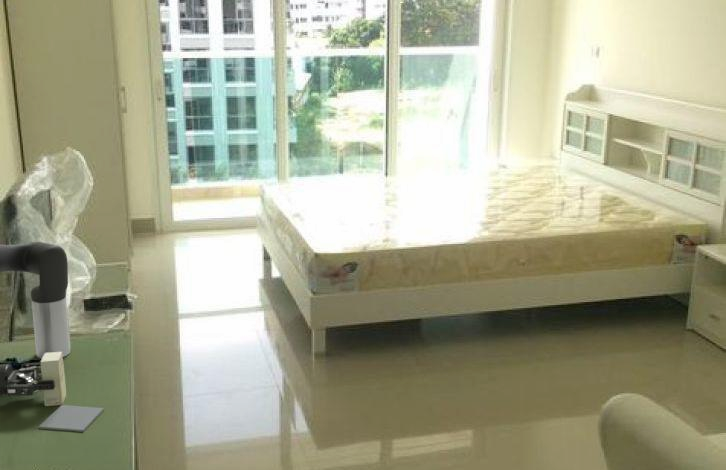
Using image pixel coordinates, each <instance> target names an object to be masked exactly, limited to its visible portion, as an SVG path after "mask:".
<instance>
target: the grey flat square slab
mask: <svg viewBox="0 0 726 470" xmlns="http://www.w3.org/2000/svg"><path fill="white" fill-rule="evenodd" d="M104 411H105V408H104V407H93V406H92V407H91V406H80V405H67V404H62V405H59V407H58V408H57V409H56V410H55V411H54V412H53V413H51V414H50V415H49V417H47V418H46V419H45V420H44V421H43V422H42V423H41V424H40V425H39V426H38V429H40V430H42V429H43V430H44V429H45V430H53V431H54V430H55V431H56V430H57V431H67V432H81V433H84V432H85V431H86V430H87V429H88V428H89V427H90V426H91V425H92V424H93V422H94V421H95V420H97V418H98V417H100V416H101V414H102V413H103V412H104Z"/></svg>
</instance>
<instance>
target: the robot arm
mask: <svg viewBox="0 0 726 470" xmlns="http://www.w3.org/2000/svg"><path fill="white" fill-rule="evenodd" d="M68 265H69V264H68V256H67V253H66V251H65V250H64V248H63V247H62V246H59V245H55V244H52V243H47V242H41V241H33V242H26V243H17V244H1V243H0V274H1V273H4V272H22V273H31V274H33V275H38V276H39V285H38V286H35V287H33V288H32V289H31V291H30V297H31V298H30V299H31V301H30V302H31V309H32V310H31V311H32V320H33V331H34V333H33V334H34V343H35V345H34V346H35V353H36V358H38V359H42V357H43V355H44V354H45V353H47V352H62V354H63V358H65V357H66V356H68V355H69V354H70V353H71V348H72V347H71V334H70V333H71V331H70V321H69V320H70V319H69V318H68V317H69V315H68V304H67V290H68V285H69V272H68V271H69V270H68V268H69V266H68ZM40 378H42V373H41V363H40V362H27V363H26V362H25V363H21V368H19V369H14V367H13V366H12V365H11V364H10V363H7V364H6V363H5V364H4V363H3V364H0V396H8V397H10V396H13V397H15V396H18V397H19V396H21V397H22V396H24V397H25V396H33V395H34V393H38V391H43V390H53V389H54V388H55V382H54V381H53V380H46V381H42V380H39V379H40ZM37 380H38V381H37Z"/></svg>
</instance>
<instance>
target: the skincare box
mask: <svg viewBox="0 0 726 470" xmlns="http://www.w3.org/2000/svg"><path fill="white" fill-rule="evenodd" d="M39 363H41V373H42V377H41V381H46V380H53V381H54V382H55V388H54V389H53V390H42V393H43V401H44V407H53V406H61V405H64V402H65V399H66V398H67V387H66V376H65V366H64V365H65V364H64V357H63V354H62V352H47V353H45V354H44V355H43V357H42V359H41V360H40V361H39Z"/></svg>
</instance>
